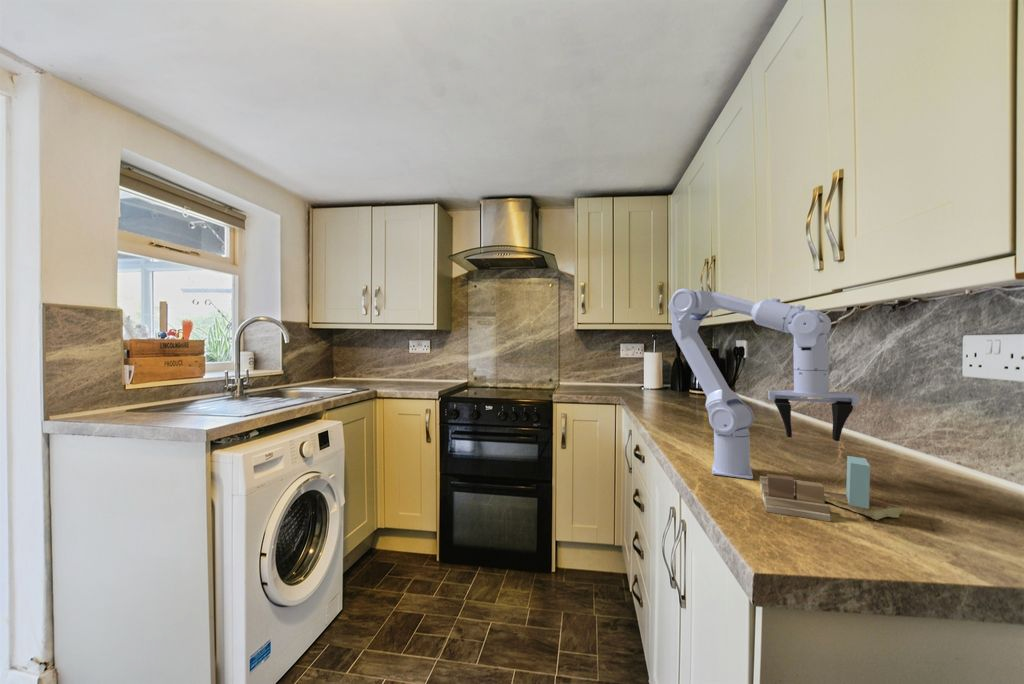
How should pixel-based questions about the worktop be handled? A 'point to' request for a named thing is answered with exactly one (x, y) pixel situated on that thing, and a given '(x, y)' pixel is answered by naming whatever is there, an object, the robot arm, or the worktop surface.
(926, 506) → the worktop surface
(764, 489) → the birch rack
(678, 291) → the robot arm
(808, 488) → the oak offcut
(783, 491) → the walnut offcut
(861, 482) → the teal panel
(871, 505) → the shard
